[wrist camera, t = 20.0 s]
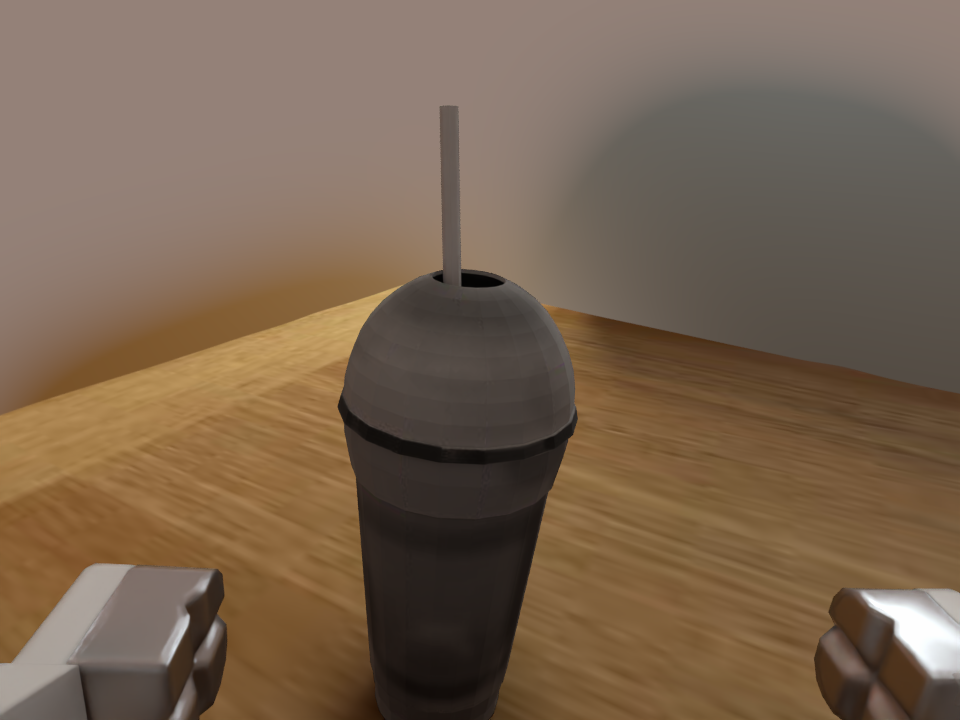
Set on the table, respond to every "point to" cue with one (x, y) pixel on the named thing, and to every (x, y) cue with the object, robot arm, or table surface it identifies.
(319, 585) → the table surface
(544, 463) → the beverage cup
